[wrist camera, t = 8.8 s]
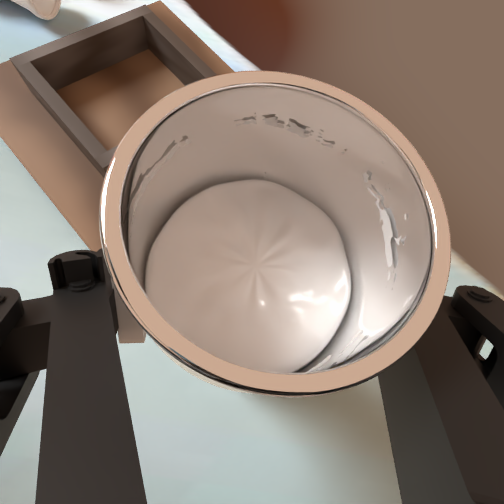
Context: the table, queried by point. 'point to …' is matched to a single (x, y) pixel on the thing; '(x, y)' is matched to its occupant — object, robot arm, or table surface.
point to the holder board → (94, 101)
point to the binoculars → (41, 7)
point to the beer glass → (274, 234)
